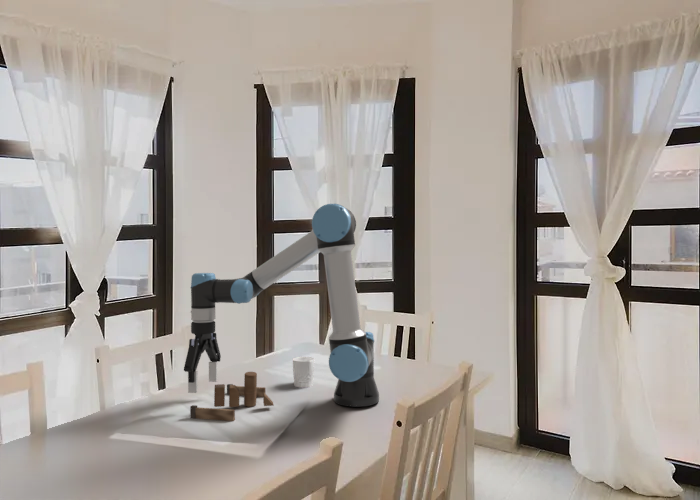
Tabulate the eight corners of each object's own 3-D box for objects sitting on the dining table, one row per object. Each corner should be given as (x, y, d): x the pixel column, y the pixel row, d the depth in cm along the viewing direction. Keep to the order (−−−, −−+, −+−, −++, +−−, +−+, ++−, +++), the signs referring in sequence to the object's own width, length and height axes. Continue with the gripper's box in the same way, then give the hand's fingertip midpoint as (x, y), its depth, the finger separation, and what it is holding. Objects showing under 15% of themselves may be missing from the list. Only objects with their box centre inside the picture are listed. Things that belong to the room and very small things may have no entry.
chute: (265, 396, 176) (265, 385, 176) (233, 421, 150) (233, 409, 150) (228, 394, 179) (228, 384, 179) (190, 418, 153) (190, 406, 153)
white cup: (288, 388, 187) (288, 360, 187) (299, 382, 194) (298, 356, 194) (308, 390, 184) (308, 362, 184) (317, 384, 191) (317, 357, 191)
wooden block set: (214, 414, 157) (214, 381, 156) (214, 404, 165) (215, 372, 165) (273, 411, 161) (274, 378, 161) (271, 401, 170) (271, 370, 169)
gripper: (210, 315, 179) (210, 376, 179) (171, 326, 155) (171, 396, 155) (230, 316, 178) (230, 377, 178) (194, 326, 154) (194, 398, 153)
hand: (203, 386), depth 166 cm, fingers open, 13 cm apart
